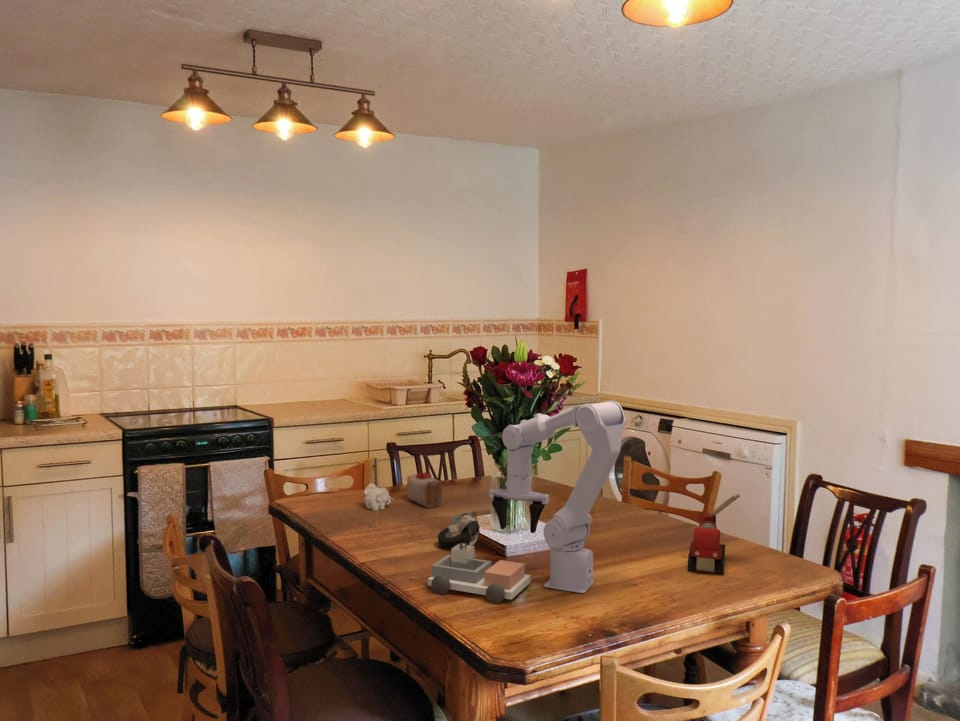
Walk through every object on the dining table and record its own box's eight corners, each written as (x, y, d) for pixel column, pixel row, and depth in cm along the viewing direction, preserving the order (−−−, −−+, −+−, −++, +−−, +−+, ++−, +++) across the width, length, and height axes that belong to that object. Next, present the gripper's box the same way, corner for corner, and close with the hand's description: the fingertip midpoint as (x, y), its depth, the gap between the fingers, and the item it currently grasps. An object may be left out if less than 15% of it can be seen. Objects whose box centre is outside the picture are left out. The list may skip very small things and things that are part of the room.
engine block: (474, 571, 186) (474, 542, 185) (467, 577, 182) (467, 547, 182) (458, 569, 187) (458, 540, 187) (450, 574, 184) (451, 545, 183)
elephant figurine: (398, 508, 251) (398, 485, 250) (371, 513, 245) (371, 489, 244) (384, 503, 257) (384, 480, 256) (358, 508, 250) (358, 485, 250)
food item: (403, 500, 261) (403, 469, 260) (425, 496, 265) (425, 467, 264) (424, 509, 249) (424, 477, 249) (446, 506, 254) (446, 475, 253)
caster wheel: (443, 561, 209) (437, 543, 219) (487, 549, 211) (479, 532, 221) (438, 537, 207) (432, 520, 217) (482, 526, 209) (475, 509, 219)
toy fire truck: (686, 573, 194) (688, 500, 192) (691, 554, 208) (693, 486, 207) (736, 579, 190) (738, 504, 189) (737, 559, 205) (740, 490, 203)
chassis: (532, 584, 185) (533, 560, 185) (509, 606, 172) (509, 580, 172) (453, 571, 193) (453, 549, 193) (425, 591, 180) (425, 567, 180)
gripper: (553, 473, 195) (552, 529, 196) (497, 468, 201) (496, 522, 202) (543, 479, 188) (542, 537, 190) (486, 473, 194) (485, 529, 195)
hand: (518, 530), depth 195 cm, fingers open, 7 cm apart
